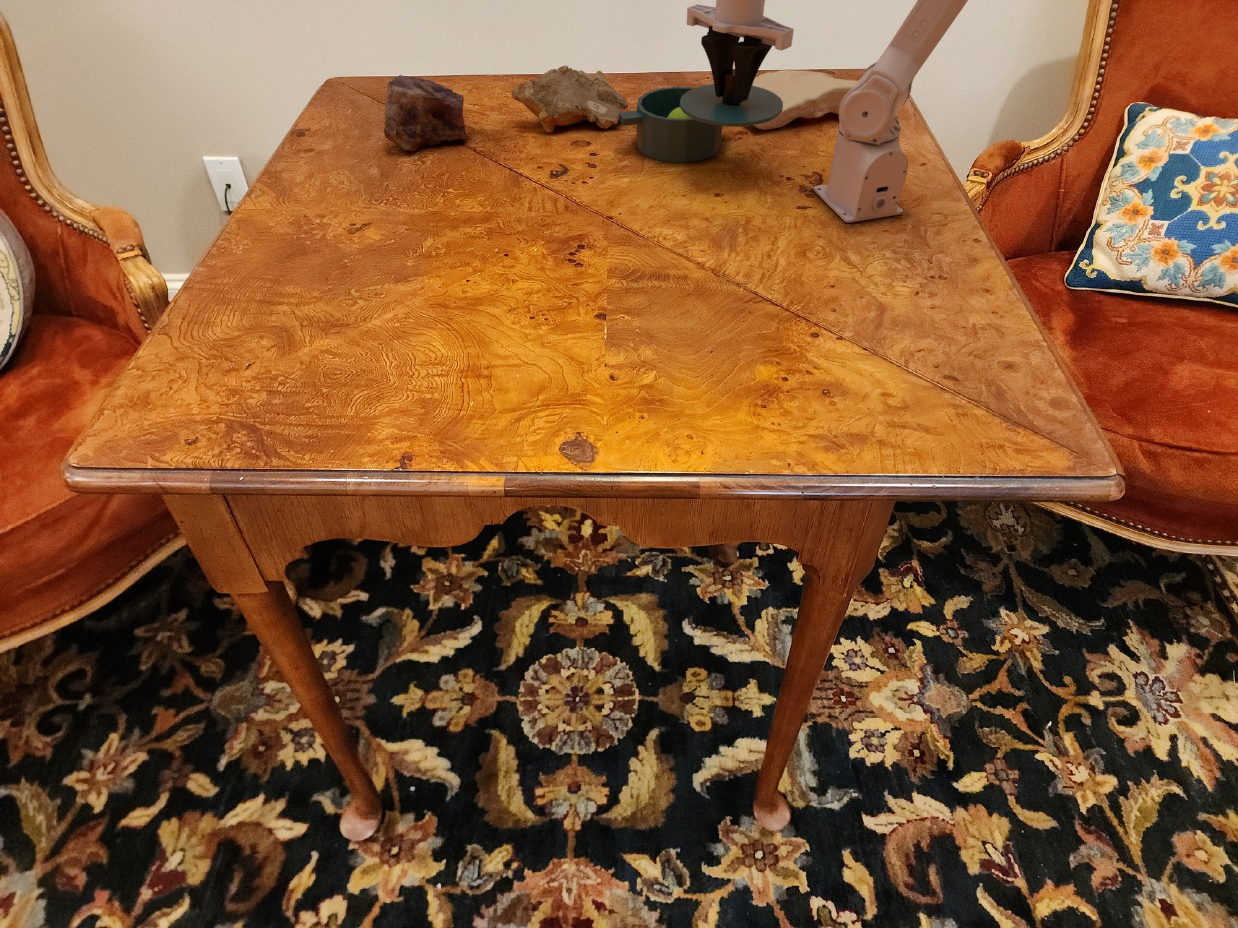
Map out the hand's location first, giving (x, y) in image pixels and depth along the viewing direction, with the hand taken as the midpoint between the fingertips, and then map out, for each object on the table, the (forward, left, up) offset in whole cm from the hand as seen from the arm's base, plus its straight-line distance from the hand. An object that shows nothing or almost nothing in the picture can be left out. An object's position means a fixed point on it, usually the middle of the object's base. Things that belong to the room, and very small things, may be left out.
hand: (731, 98), depth 97 cm
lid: (0, 0, -1) cm, 1 cm away
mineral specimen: (+23, +16, -10) cm, 30 cm away
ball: (+10, +3, -7) cm, 13 cm away
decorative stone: (+18, -19, -10) cm, 28 cm away
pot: (+11, +3, -10) cm, 15 cm away
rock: (+24, +38, -10) cm, 46 cm away
